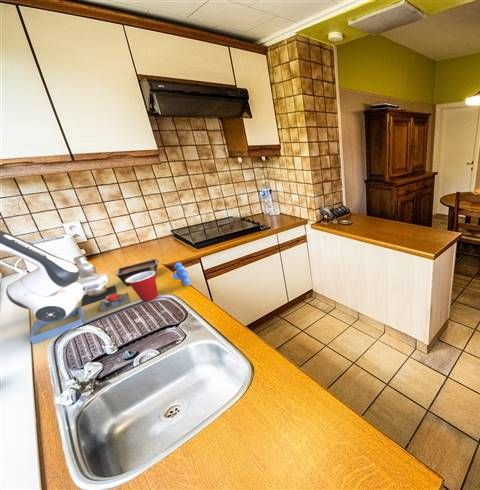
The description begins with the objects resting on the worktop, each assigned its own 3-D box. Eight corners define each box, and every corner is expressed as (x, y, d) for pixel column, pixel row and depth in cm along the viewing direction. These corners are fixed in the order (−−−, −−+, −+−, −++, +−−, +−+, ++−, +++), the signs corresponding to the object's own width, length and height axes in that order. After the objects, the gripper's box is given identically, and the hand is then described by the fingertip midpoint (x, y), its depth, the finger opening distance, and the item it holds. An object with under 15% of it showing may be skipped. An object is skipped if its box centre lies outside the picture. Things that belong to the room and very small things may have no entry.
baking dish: (127, 280, 143) (115, 265, 138) (165, 266, 151) (155, 251, 146) (124, 293, 133) (111, 278, 128) (165, 277, 140) (154, 262, 135)
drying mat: (82, 306, 119) (81, 305, 118) (82, 296, 127) (81, 295, 126) (117, 295, 126) (116, 294, 126) (115, 286, 134) (114, 285, 134)
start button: (107, 302, 116) (106, 298, 116) (107, 298, 119) (105, 295, 118) (118, 298, 119) (116, 295, 118) (118, 295, 121) (116, 292, 120)
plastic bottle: (93, 293, 128) (72, 256, 120) (110, 289, 130) (92, 252, 122) (86, 300, 122) (65, 261, 114) (105, 296, 125) (85, 258, 117)
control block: (101, 313, 114) (97, 307, 112) (100, 304, 119) (97, 299, 118) (130, 302, 120) (128, 296, 119) (128, 295, 126) (126, 289, 125)
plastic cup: (161, 288, 130) (152, 267, 125) (167, 296, 123) (157, 274, 118) (133, 298, 122) (122, 276, 118) (137, 307, 116) (126, 284, 111)
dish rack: (33, 344, 97) (28, 338, 96) (37, 327, 106) (33, 321, 105) (84, 325, 106) (80, 319, 105) (84, 311, 115) (81, 305, 114)
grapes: (172, 284, 133) (163, 263, 128) (187, 278, 138) (179, 258, 133) (180, 291, 126) (171, 269, 121) (195, 285, 131) (187, 264, 126)
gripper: (99, 278, 108) (108, 265, 119) (27, 295, 98) (44, 279, 109) (106, 291, 110) (114, 277, 121) (36, 309, 101) (52, 292, 112)
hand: (80, 278), depth 115 cm, fingers open, 8 cm apart
